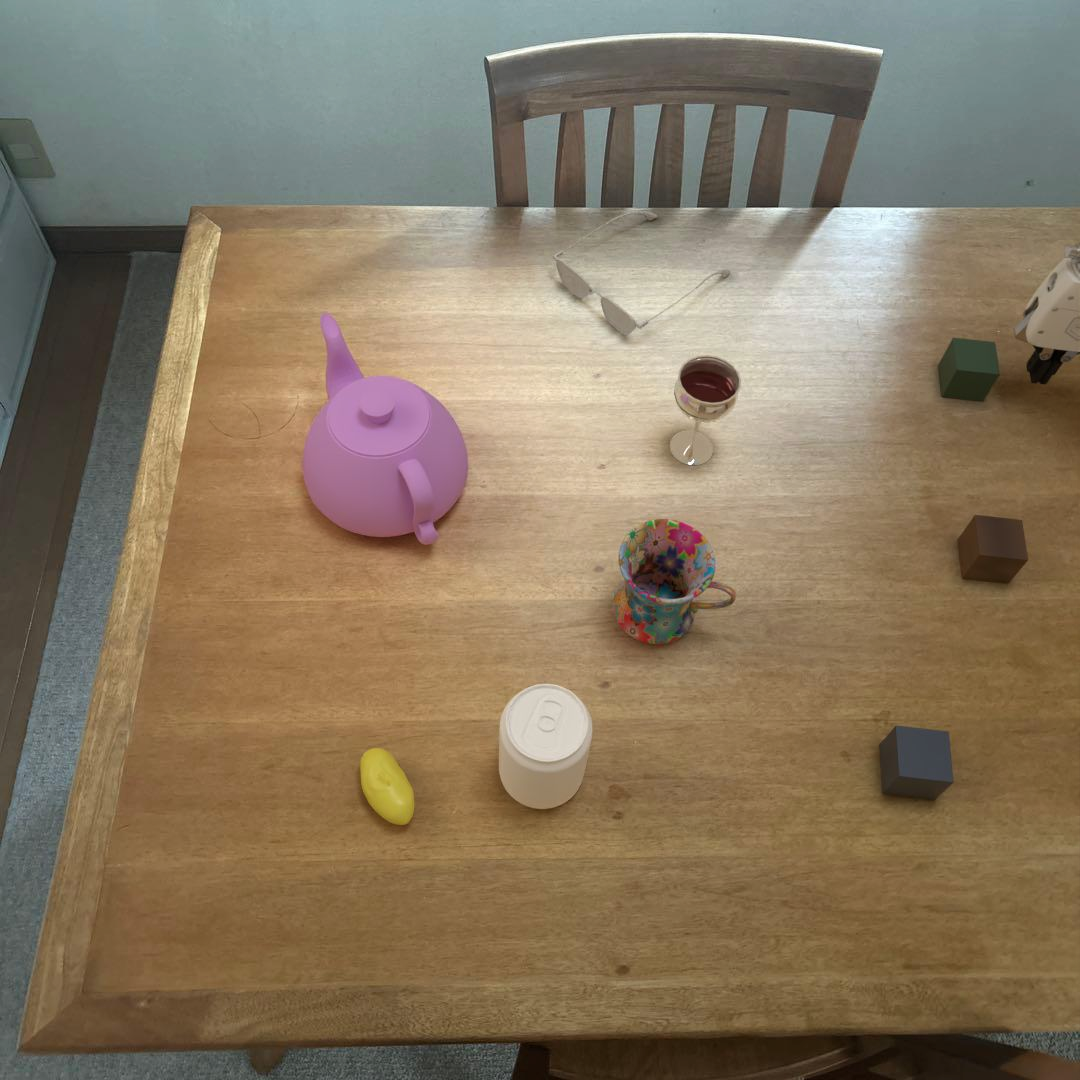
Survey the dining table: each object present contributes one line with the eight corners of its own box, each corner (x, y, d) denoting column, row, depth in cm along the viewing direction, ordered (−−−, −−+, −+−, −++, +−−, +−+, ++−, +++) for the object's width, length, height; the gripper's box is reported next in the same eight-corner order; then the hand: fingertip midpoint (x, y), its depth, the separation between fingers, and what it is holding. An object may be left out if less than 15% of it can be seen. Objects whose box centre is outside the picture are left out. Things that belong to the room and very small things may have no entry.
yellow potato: (393, 747, 103) (389, 732, 100) (425, 821, 100) (423, 808, 96) (351, 764, 102) (346, 750, 99) (382, 841, 99) (379, 828, 95)
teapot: (508, 522, 117) (510, 447, 106) (359, 592, 112) (344, 521, 100) (405, 366, 128) (396, 282, 116) (264, 423, 123) (241, 341, 111)
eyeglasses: (549, 276, 137) (551, 252, 133) (650, 212, 143) (654, 188, 140) (635, 347, 131) (639, 324, 128) (735, 277, 138) (742, 254, 134)
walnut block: (1003, 544, 118) (1022, 519, 114) (1008, 583, 116) (1028, 560, 111) (957, 539, 118) (974, 514, 114) (961, 578, 116) (979, 554, 112)
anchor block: (930, 750, 105) (949, 731, 101) (934, 800, 103) (954, 782, 99) (879, 744, 106) (895, 725, 101) (882, 794, 103) (899, 776, 99)
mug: (595, 633, 111) (605, 582, 102) (624, 560, 115) (636, 506, 106) (708, 673, 109) (728, 625, 100) (732, 598, 113) (754, 545, 104)
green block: (979, 369, 131) (995, 341, 127) (983, 401, 129) (1000, 374, 124) (937, 365, 131) (952, 337, 127) (941, 397, 129) (956, 369, 125)
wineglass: (688, 481, 121) (706, 415, 111) (649, 441, 124) (664, 372, 113) (733, 453, 123) (755, 386, 113) (694, 414, 126) (712, 345, 116)
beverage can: (487, 796, 101) (486, 750, 91) (513, 719, 105) (516, 667, 95) (570, 822, 100) (579, 779, 90) (593, 743, 104) (604, 693, 94)
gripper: (1047, 278, 110) (976, 392, 126) (1194, 295, 110) (1104, 407, 126) (1038, 226, 114) (970, 343, 130) (1180, 243, 114) (1094, 358, 130)
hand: (1036, 374), depth 128 cm, fingers closed
